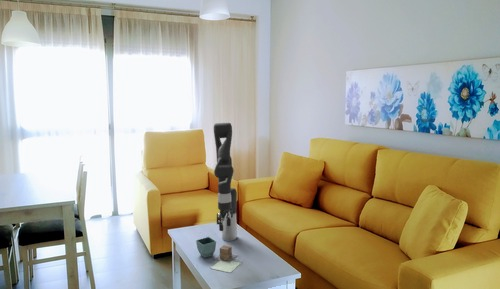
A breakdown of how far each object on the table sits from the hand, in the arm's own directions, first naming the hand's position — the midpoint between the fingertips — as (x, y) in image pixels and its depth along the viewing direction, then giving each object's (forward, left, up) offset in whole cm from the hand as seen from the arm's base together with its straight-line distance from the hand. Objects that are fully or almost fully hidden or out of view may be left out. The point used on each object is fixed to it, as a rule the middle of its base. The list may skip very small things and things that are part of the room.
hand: (225, 228), depth 213 cm
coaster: (+9, +5, -18) cm, 20 cm away
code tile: (0, 0, -18) cm, 18 cm away
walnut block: (0, 0, -17) cm, 17 cm away
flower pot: (+2, -12, -18) cm, 21 cm away
